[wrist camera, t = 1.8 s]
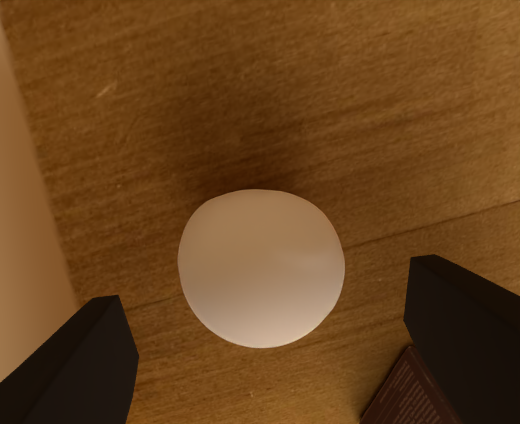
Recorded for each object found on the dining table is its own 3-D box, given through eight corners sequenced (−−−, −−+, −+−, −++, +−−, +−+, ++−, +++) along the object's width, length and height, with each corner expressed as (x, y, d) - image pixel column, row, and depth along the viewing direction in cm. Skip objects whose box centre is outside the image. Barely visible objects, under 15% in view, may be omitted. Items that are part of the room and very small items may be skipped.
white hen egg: (344, 193, 13) (409, 273, 8) (284, 292, 14) (310, 404, 10) (217, 137, 11) (212, 195, 7) (167, 254, 13) (138, 362, 9)
